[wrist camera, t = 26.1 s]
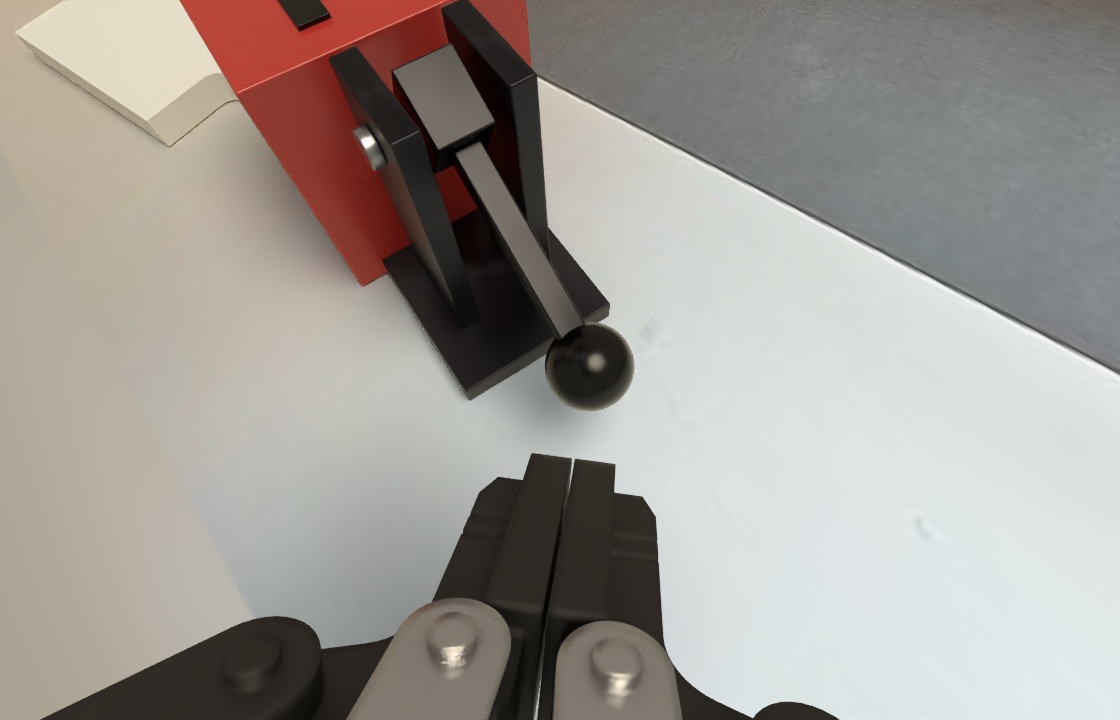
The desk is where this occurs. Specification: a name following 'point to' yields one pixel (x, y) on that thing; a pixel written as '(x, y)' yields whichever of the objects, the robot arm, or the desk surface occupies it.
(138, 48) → the mounting plate
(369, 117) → the lever bracket
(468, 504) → the desk surface
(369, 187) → the toaster
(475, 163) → the toaster lever
